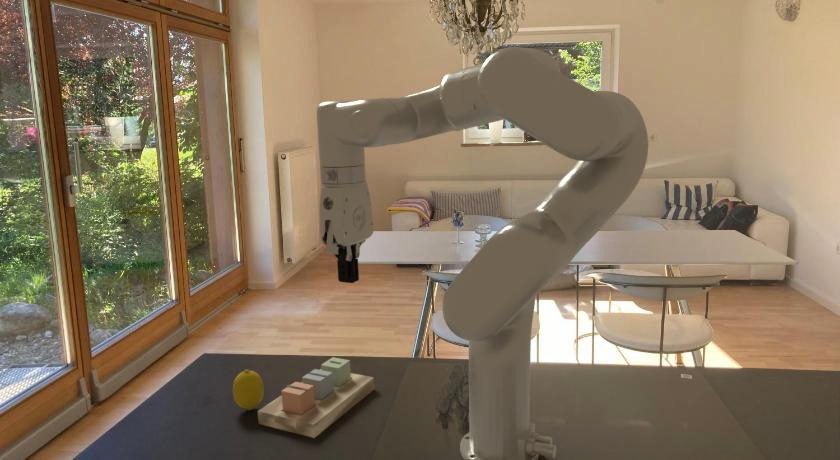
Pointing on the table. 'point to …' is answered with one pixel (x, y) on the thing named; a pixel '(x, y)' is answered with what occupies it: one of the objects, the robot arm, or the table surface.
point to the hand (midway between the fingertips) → (348, 281)
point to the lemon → (248, 389)
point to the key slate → (320, 383)
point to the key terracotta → (298, 398)
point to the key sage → (338, 370)
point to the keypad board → (317, 408)
